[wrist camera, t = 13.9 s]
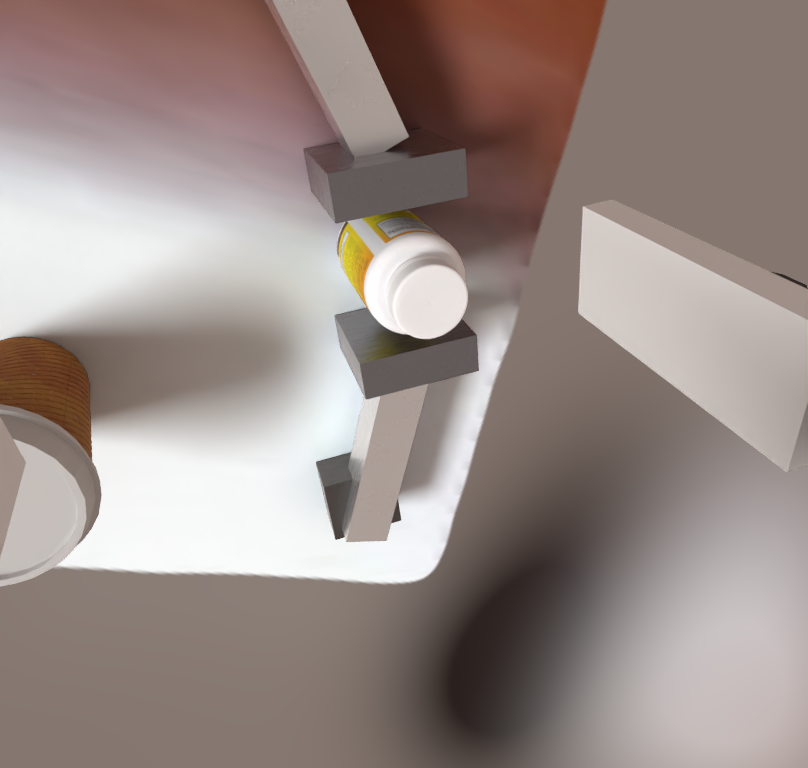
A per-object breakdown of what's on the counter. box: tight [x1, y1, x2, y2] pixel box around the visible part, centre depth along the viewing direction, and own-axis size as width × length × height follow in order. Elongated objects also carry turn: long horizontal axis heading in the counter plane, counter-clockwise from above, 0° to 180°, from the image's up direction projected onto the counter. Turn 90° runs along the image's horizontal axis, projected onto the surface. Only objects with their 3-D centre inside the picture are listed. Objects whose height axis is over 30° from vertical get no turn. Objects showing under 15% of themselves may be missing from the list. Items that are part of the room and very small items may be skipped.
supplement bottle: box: [336, 209, 468, 339], centre depth 36 cm, size 6×6×10 cm
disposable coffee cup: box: [0, 337, 101, 586], centre depth 33 cm, size 10×10×12 cm
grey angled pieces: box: [264, 0, 479, 542], centre depth 37 cm, size 10×40×7 cm, turn 6°
